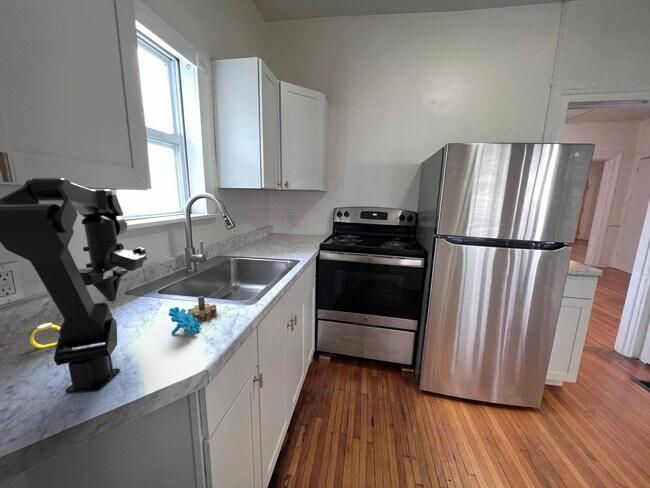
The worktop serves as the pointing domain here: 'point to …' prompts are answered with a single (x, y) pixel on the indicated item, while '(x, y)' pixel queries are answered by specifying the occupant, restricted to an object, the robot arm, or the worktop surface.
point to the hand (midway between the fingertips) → (112, 300)
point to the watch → (43, 327)
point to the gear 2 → (203, 310)
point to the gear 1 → (184, 320)
